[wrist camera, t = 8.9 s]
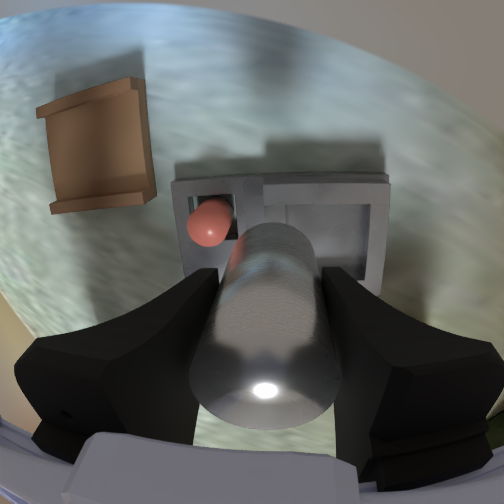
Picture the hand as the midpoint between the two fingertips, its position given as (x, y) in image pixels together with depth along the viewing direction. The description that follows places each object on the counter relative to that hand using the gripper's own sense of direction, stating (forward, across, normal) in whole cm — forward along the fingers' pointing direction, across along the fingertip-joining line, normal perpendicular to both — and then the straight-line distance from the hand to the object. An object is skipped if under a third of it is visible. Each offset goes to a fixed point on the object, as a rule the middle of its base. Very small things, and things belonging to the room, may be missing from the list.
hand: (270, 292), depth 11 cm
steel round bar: (+2, 0, 0) cm, 2 cm away
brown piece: (+10, +12, -6) cm, 16 cm away
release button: (+10, +4, 0) cm, 10 cm away
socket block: (+10, -1, +1) cm, 10 cm away
